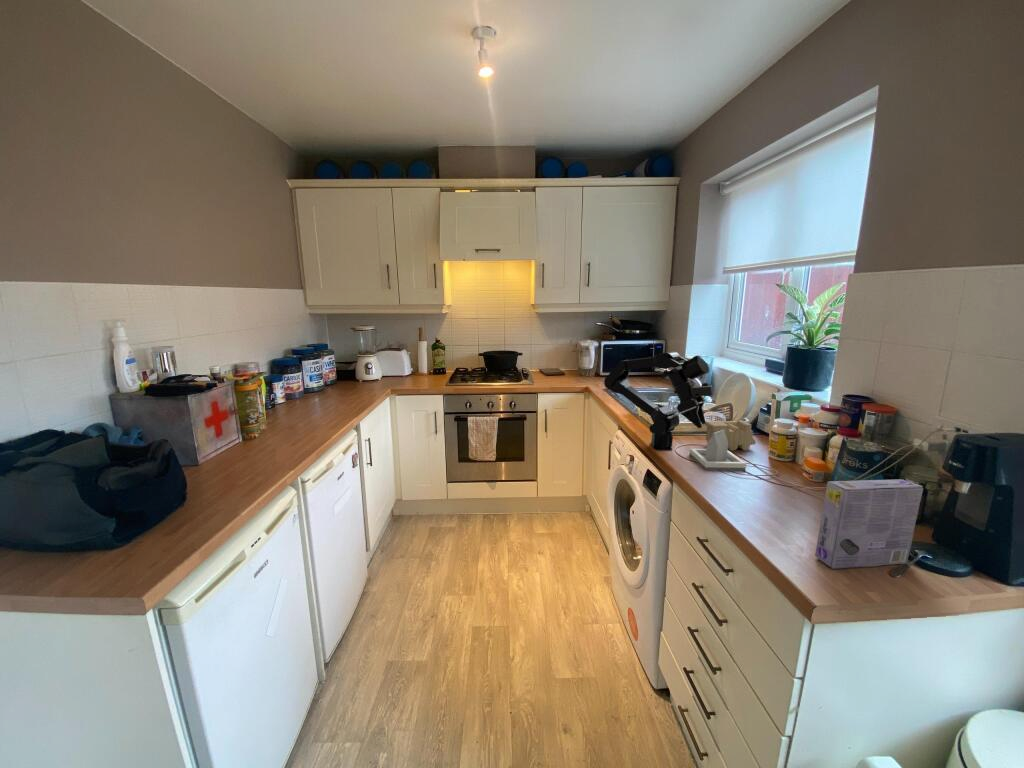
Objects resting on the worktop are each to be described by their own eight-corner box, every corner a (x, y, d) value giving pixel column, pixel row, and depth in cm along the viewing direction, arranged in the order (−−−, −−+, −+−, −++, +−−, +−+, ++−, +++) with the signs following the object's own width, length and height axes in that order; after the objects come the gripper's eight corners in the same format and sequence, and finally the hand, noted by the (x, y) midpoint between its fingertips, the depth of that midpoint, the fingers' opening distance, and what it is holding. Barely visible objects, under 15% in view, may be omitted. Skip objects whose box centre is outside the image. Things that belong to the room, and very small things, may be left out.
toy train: (754, 450, 150) (758, 424, 148) (710, 451, 149) (713, 425, 147) (744, 445, 156) (748, 420, 154) (702, 446, 154) (704, 420, 152)
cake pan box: (889, 550, 91) (905, 476, 87) (913, 564, 86) (932, 486, 82) (811, 556, 89) (824, 480, 85) (831, 571, 84) (846, 491, 80)
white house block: (726, 459, 139) (729, 431, 137) (715, 463, 135) (719, 434, 133) (715, 455, 142) (718, 428, 140) (705, 460, 138) (708, 431, 136)
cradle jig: (705, 470, 133) (706, 462, 132) (689, 455, 145) (690, 448, 145) (745, 470, 132) (746, 463, 132) (725, 455, 145) (726, 449, 144)
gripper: (700, 376, 131) (723, 420, 129) (707, 373, 147) (728, 413, 144) (667, 390, 137) (689, 433, 134) (678, 386, 153) (697, 424, 150)
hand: (702, 425), depth 141 cm, fingers open, 9 cm apart
